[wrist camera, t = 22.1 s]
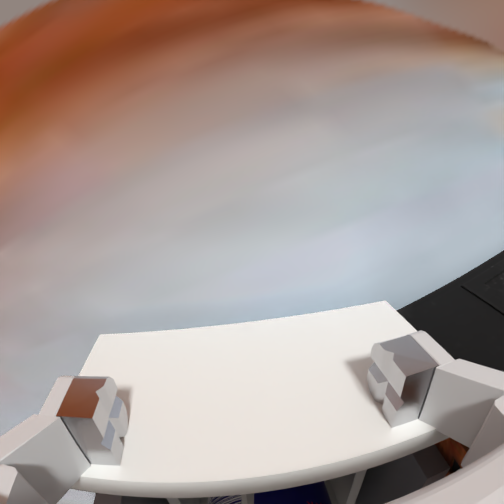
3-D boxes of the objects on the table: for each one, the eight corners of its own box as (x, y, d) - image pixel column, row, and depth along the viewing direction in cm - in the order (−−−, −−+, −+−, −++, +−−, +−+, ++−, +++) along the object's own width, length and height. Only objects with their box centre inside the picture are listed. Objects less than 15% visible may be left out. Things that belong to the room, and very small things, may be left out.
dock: (368, 350, 15) (450, 467, 7) (344, 474, 19) (378, 559, 11) (126, 380, 14) (89, 521, 6) (180, 497, 18) (180, 589, 10)
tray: (385, 300, 13) (487, 403, 6) (351, 476, 17) (383, 555, 11) (99, 334, 12) (37, 468, 5) (175, 501, 16) (174, 587, 10)
